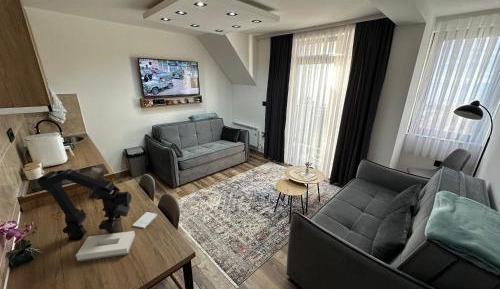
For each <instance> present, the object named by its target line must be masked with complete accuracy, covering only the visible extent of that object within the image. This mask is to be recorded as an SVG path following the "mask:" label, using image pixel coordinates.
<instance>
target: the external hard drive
mask: <svg viewBox="0 0 500 289" xmlns="http://www.w3.org/2000/svg"><path fill="white" fill-rule="evenodd" d="M157 216H158V214H157V213H155V212H154V213H153V212H147V211H146V212H144V214H142V215H141V216H140V218H139V219H137V220H136V221H135V222H134V223H133V224H132V225H131V227H134V228H139V229H146V226H147V225H148V226H149V225H150V224H151V223H152V221H154V220H155V218H157ZM148 226H147V227H148Z"/></svg>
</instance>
